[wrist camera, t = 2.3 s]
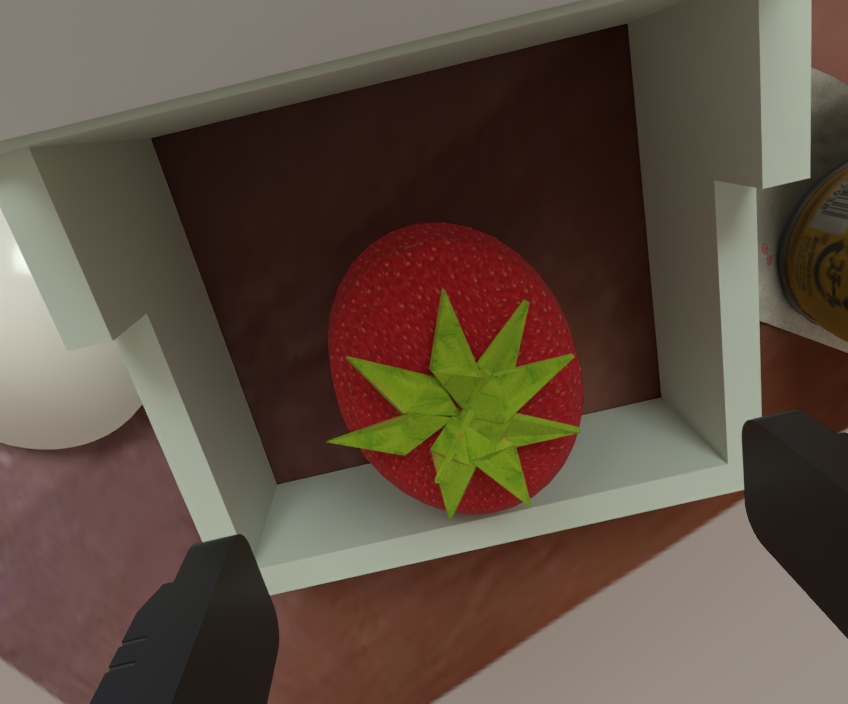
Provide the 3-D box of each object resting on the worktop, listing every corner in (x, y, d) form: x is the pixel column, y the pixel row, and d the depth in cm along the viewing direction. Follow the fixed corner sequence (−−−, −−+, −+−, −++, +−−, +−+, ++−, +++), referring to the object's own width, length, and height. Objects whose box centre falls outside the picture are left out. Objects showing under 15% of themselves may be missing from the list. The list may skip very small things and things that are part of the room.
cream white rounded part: (-154, 230, 18) (-177, 235, 17) (107, 167, 18) (95, 169, 17) (-25, 460, 21) (-40, 473, 20) (202, 408, 21) (195, 418, 20)
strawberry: (403, 436, 22) (416, 677, 12) (303, 241, 19) (224, 358, 10) (560, 371, 21) (699, 570, 12) (479, 160, 18) (576, 203, 9)
